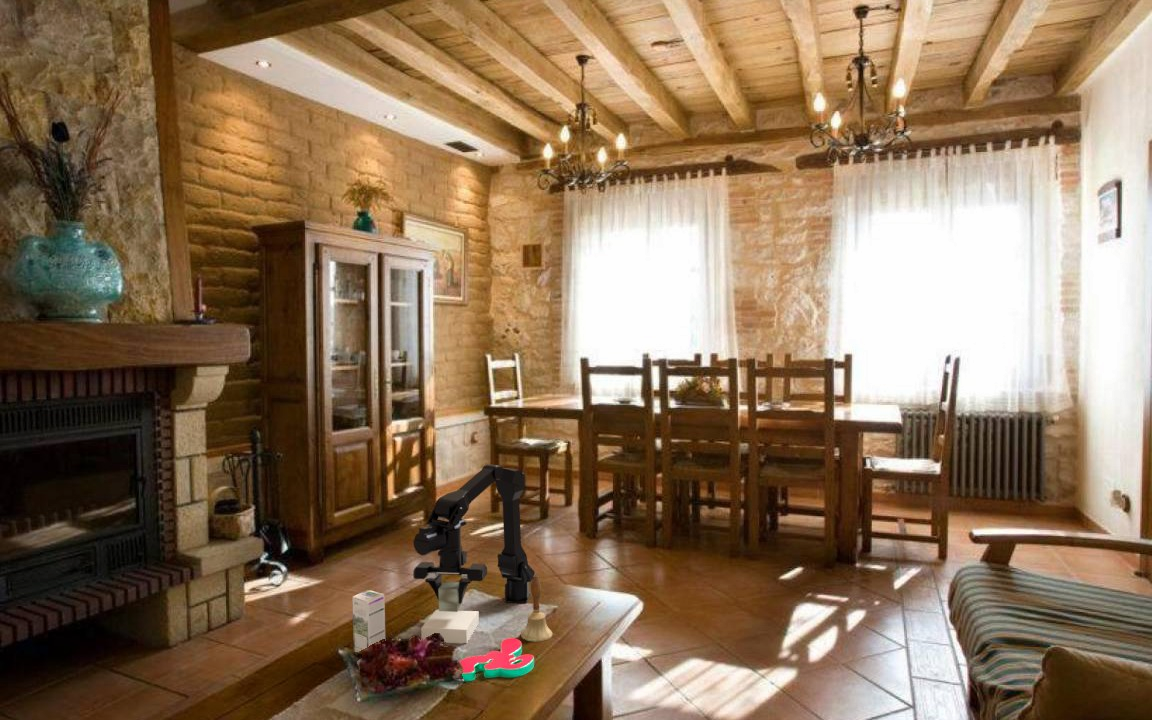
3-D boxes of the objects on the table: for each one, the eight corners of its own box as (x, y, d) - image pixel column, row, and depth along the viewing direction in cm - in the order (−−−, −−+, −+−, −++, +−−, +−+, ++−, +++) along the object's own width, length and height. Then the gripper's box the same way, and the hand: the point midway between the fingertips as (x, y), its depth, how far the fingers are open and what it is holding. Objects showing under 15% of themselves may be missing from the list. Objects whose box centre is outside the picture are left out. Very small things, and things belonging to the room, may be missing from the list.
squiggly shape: (516, 645, 178) (516, 636, 178) (542, 672, 163) (542, 662, 163) (439, 662, 169) (439, 653, 169) (460, 692, 154) (459, 682, 154)
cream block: (478, 625, 190) (478, 611, 190) (466, 645, 178) (466, 629, 178) (436, 623, 191) (436, 609, 191) (421, 642, 179) (421, 627, 179)
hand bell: (548, 643, 178) (547, 581, 177) (517, 640, 179) (516, 579, 179) (555, 629, 186) (555, 571, 185) (525, 627, 188) (525, 569, 187)
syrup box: (386, 649, 175) (385, 592, 174) (368, 658, 170) (367, 600, 169) (371, 644, 178) (370, 588, 177) (352, 653, 173) (351, 595, 172)
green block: (462, 604, 186) (462, 582, 186) (457, 611, 182) (456, 589, 181) (444, 603, 187) (444, 581, 187) (438, 611, 182) (438, 588, 182)
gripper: (491, 537, 191) (492, 593, 191) (426, 535, 193) (427, 590, 193) (481, 549, 180) (482, 609, 180) (412, 547, 182) (413, 606, 182)
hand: (450, 603), depth 184 cm, fingers closed on green block, 5 cm apart
